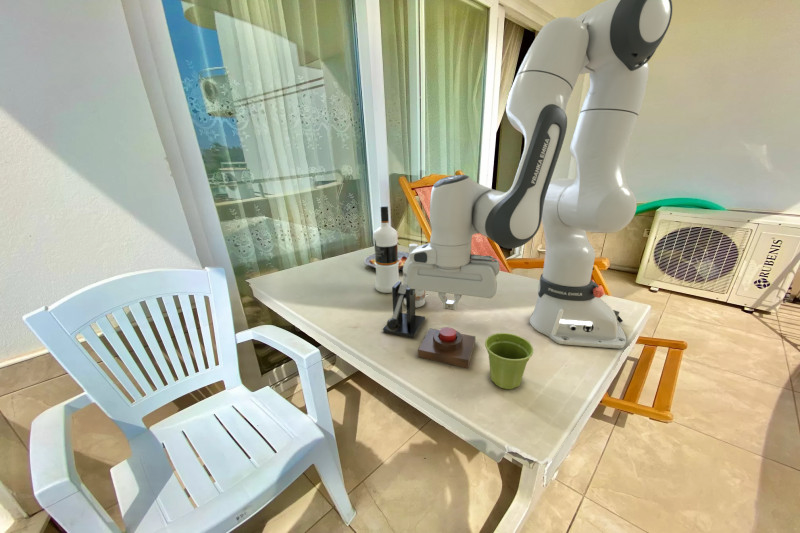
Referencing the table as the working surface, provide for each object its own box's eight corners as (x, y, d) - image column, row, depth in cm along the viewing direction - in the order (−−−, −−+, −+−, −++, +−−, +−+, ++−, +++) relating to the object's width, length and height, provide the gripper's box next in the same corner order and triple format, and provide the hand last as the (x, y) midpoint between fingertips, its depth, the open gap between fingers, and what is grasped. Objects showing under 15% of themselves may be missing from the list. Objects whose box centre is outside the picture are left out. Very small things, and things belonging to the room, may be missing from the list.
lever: (398, 334, 77) (395, 329, 75) (387, 331, 78) (383, 326, 76) (411, 290, 84) (409, 284, 81) (401, 289, 85) (398, 283, 82)
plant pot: (479, 389, 63) (482, 354, 59) (484, 361, 71) (487, 329, 68) (528, 400, 59) (534, 364, 56) (528, 370, 68) (532, 337, 64)
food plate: (432, 263, 134) (432, 256, 133) (395, 279, 118) (395, 271, 117) (392, 252, 150) (391, 245, 149) (355, 265, 135) (354, 258, 133)
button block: (475, 343, 77) (475, 330, 76) (468, 368, 69) (468, 353, 67) (429, 335, 82) (429, 322, 80) (418, 357, 73) (417, 343, 72)
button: (457, 334, 75) (457, 328, 74) (454, 343, 72) (454, 337, 71) (441, 331, 76) (441, 325, 76) (437, 340, 73) (437, 334, 72)
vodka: (401, 293, 107) (399, 207, 96) (375, 294, 106) (369, 209, 96) (399, 282, 115) (396, 203, 105) (375, 284, 115) (370, 204, 104)
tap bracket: (413, 338, 80) (413, 295, 76) (383, 332, 84) (380, 290, 79) (425, 320, 89) (425, 280, 85) (396, 315, 92) (395, 276, 88)
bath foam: (412, 310, 95) (410, 249, 88) (399, 302, 100) (397, 244, 93) (429, 304, 98) (429, 245, 91) (416, 296, 104) (415, 240, 97)
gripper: (501, 251, 65) (497, 308, 70) (412, 245, 73) (414, 297, 78) (498, 261, 60) (494, 322, 65) (402, 254, 67) (405, 308, 72)
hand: (450, 308), depth 71 cm, fingers closed
